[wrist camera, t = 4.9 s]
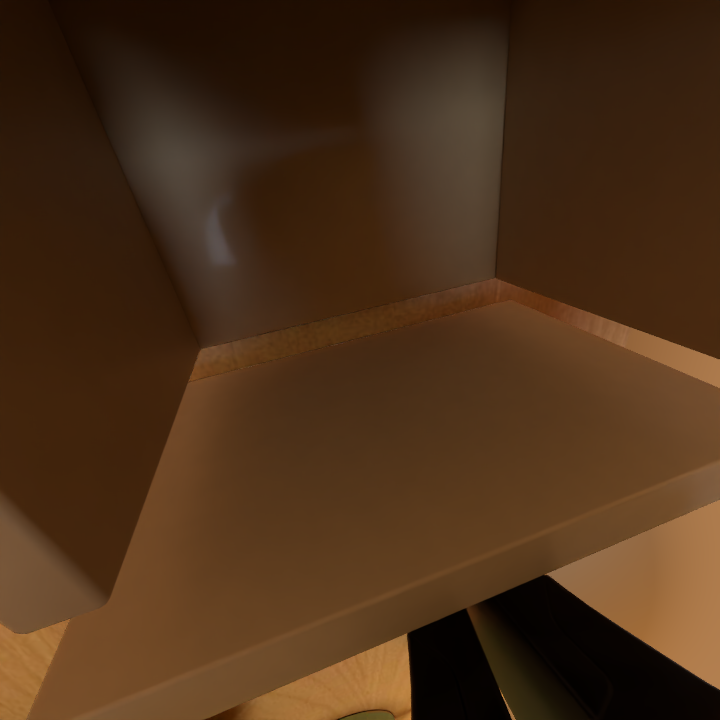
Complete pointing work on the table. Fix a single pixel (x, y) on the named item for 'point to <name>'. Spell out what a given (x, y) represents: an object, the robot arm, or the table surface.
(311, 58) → the drawer
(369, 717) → the mug
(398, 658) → the table surface
